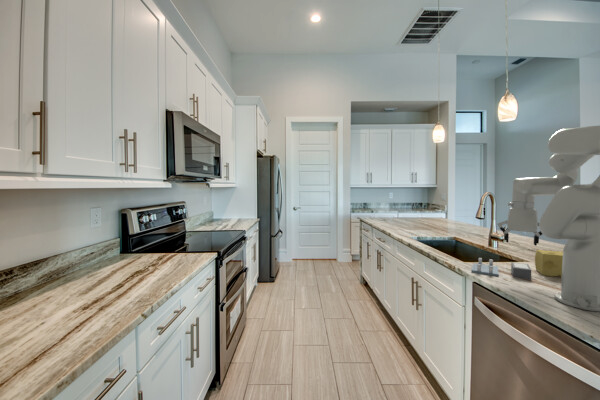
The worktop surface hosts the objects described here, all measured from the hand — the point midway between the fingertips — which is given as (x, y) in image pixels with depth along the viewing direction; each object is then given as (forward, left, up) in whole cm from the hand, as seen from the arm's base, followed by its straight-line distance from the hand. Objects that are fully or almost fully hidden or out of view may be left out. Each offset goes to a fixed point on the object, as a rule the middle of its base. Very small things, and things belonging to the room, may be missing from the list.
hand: (520, 243), depth 116 cm
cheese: (+10, -12, -15) cm, 22 cm away
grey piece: (-2, +13, -14) cm, 19 cm away
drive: (-1, 0, -15) cm, 15 cm away
